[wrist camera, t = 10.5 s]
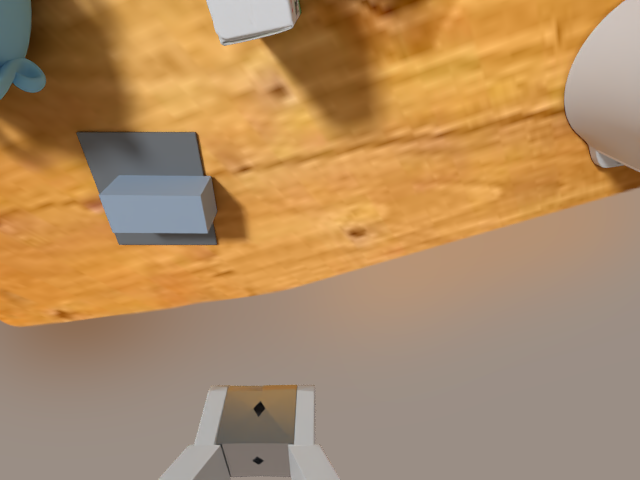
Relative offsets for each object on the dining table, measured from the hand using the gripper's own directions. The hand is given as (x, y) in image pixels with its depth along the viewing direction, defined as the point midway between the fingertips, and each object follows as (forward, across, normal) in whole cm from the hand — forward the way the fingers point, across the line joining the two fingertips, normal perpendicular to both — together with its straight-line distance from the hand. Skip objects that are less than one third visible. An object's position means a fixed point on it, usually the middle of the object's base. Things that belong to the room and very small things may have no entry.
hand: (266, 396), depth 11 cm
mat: (+31, +17, +10) cm, 37 cm away
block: (+29, +10, +10) cm, 32 cm away
